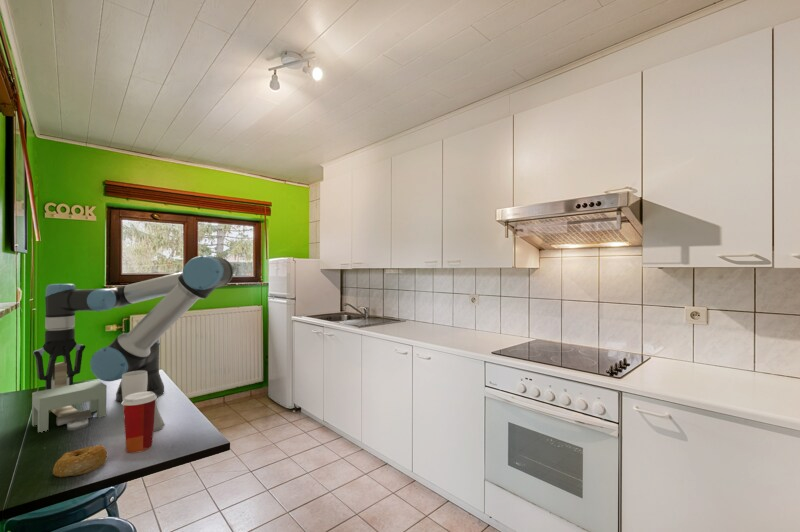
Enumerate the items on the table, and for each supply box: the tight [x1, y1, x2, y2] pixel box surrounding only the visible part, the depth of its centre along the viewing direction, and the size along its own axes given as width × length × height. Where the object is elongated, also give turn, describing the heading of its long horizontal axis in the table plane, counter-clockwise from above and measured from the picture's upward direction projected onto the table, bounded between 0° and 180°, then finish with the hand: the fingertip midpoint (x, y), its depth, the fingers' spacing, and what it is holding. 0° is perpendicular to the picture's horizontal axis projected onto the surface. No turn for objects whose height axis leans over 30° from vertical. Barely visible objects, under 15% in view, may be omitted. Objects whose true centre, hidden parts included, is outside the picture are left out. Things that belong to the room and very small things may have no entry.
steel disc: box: [66, 418, 90, 432], centre depth 112 cm, size 5×5×2 cm
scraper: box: [49, 361, 92, 427], centre depth 120 cm, size 20×8×16 cm, turn 55°
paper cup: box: [120, 391, 158, 454], centre depth 98 cm, size 8×8×14 cm
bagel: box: [52, 444, 108, 478], centre depth 88 cm, size 10×11×5 cm
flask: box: [153, 394, 165, 433], centre depth 110 cm, size 7×7×10 cm
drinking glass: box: [120, 370, 148, 410], centre depth 117 cm, size 7×7×15 cm
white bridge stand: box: [31, 379, 108, 433], centre depth 117 cm, size 10×16×10 cm, turn 144°
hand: (59, 397), depth 125 cm, fingers closed on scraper, 3 cm apart
